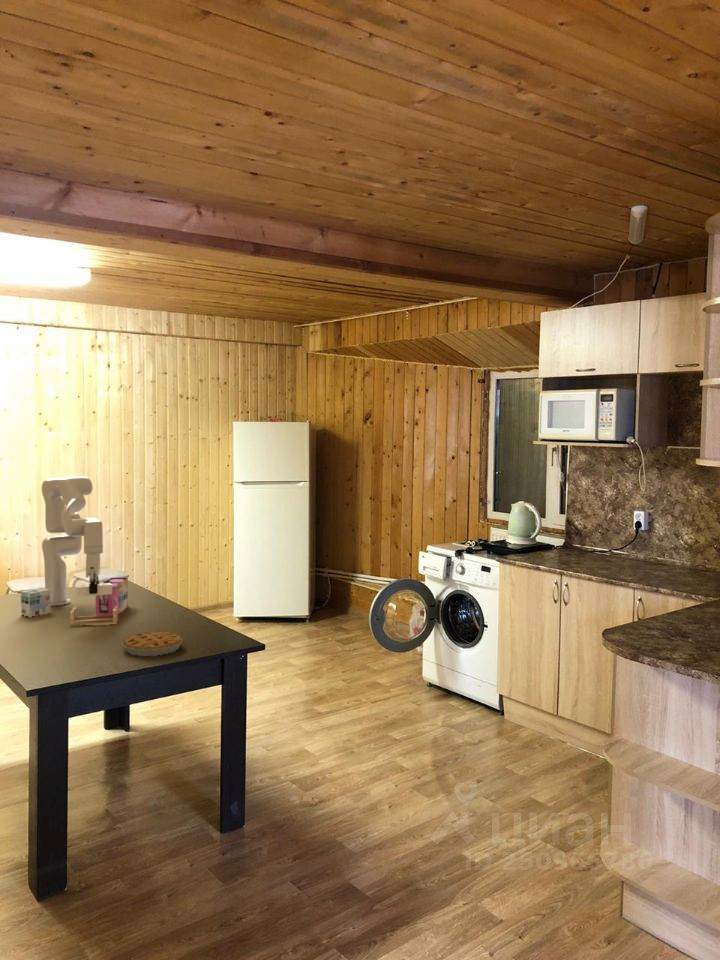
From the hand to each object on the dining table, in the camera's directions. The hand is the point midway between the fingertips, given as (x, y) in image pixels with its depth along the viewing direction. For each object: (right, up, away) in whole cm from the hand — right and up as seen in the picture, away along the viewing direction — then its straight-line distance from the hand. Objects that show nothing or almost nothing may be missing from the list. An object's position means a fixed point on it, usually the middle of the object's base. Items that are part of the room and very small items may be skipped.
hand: (94, 591), depth 334 cm
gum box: (+1, -12, +20) cm, 24 cm away
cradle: (0, -13, +1) cm, 13 cm away
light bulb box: (-31, -12, +15) cm, 36 cm away
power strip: (0, -1, 0) cm, 1 cm away
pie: (+34, -17, -36) cm, 53 cm away
